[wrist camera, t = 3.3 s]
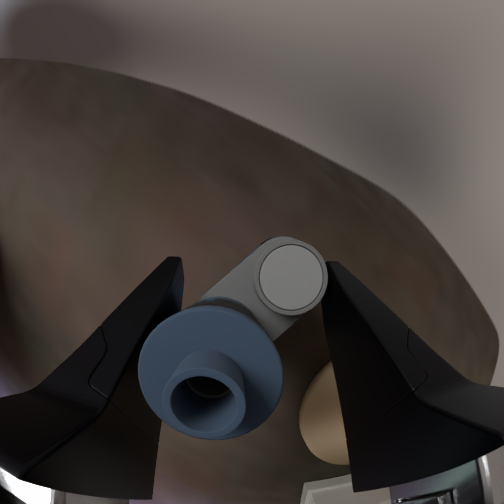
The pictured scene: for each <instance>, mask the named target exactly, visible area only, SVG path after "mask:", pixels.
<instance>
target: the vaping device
mask: <svg viewBox="0 0 504 504" xmlns="http://www.w3.org/2000/svg"><path fill="white" fill-rule="evenodd" d="M327 283H328V273H327V268H326V264H325V262H324V260H323V258H322V256H321V255H320V254H319V252H318V251H317V250H316V249H315V248H313V247H312V246H310V245H309V244H307V243H305V242H302V241H299V240H297V239H295V238H291V237H285V236H277V237H271V238H269V239H267V240H266V241H264V242H263V243H261V244H260V245H259V246H258V247H257V248H256V249H255V250H254V251H253V252H251V253H250V254H249V255H248V256H247V257H246V258H245V259H244V260H243V261H242V262H241V263H240V264H238V265H237V266H236V267H235V268H234V269H233V270H232V271H231V272H230V273H229V274H228V275H227V276H225V277H224V278H223V279H222V280H221V281H220V282H219V283H217V284H216V285H215V286H214V287H213V288H212V289H210V290H209V291H208V292H207V293H206V294H205V295H204V296H202V297H201V298H200V299H199V300H198V301H197V302H195V303H194V304H193V305H192V306H190V307H188V308H186V309H184V310H182V311H181V312H178V313H176V314H174V315H172V316H170V317H168V318H167V319H166V320H164V321H163V322H162V323H160V324H159V325H158V326H157V327H156V328H155V329H154V330H153V331H152V332H151V333H150V335H149V336H148V338H147V339H146V341H145V343H144V345H143V347H142V350H141V353H140V357H139V363H138V378H139V382H140V387H141V390H142V392H143V395H144V397H145V399H146V401H147V403H148V404H149V406H150V407H151V409H152V410H153V411H154V412H155V413H156V415H157V416H158V417H159V418H160V419H161V420H163V421H164V422H165V423H166V424H167V425H169V426H170V427H172V428H174V429H175V430H177V431H179V432H181V433H184V434H186V435H189V436H192V437H196V438H200V439H207V440H223V439H230V438H234V437H238V436H241V435H243V434H246V433H248V432H250V431H252V430H253V429H255V428H257V427H258V426H259V425H261V424H262V423H263V422H264V421H265V420H266V419H267V418H268V417H269V416H270V415H271V413H272V412H273V411H274V409H275V407H276V406H277V404H278V402H279V400H280V397H281V393H282V390H283V382H284V373H283V365H282V362H281V358H280V355H279V353H278V351H277V349H276V347H275V345H274V343H273V341H275V340H276V339H277V338H278V337H279V336H280V335H281V334H283V333H284V332H285V331H286V330H287V329H288V328H289V327H290V326H291V325H293V324H294V323H295V322H296V321H297V320H298V319H299V318H300V317H301V316H302V315H303V314H304V313H306V312H307V311H309V310H311V309H312V308H313V307H315V306H316V305H317V304H318V303H319V301H320V300H321V299H322V297H323V295H324V293H325V291H326V288H327Z"/></svg>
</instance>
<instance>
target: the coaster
mask: <svg viewBox="0 0 504 504" xmlns="http://www.w3.org/2000/svg"><path fill="white" fill-rule="evenodd" d="M299 428H300V432H301V435H302V437H303V439H304V441H305V443H306V445H307V446H308V448H309V450H310V451H311V452H312V453H313V454H314V455H315V456H316V457H318V458H319V459H321V460H323V461H325V462H328V463H332V464H338V465H348V464H349V457H348V450H347V443H346V440H347V439H346V436H345V430H344V424H343V418H342V412H341V407H340V401H339V396H338V391H337V385H336V380H335V375H334V370H333V365H332V361H330V362H329V363H328V364H326V365H325V366H324V367H323V368H322V369H321V370H320V372H319V373H318V374H317V375H316V376H315V378H314V379H313V380H312V382H311V383H310V385H309V387H308V388H307V390H306V392H305V394H304V397H303V399H302V402H301V405H300V411H299Z"/></svg>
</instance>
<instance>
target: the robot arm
mask: <svg viewBox="0 0 504 504" xmlns="http://www.w3.org/2000/svg"><path fill="white" fill-rule="evenodd" d="M325 264H326V268H327V273H328V283H327V288H326V291H325V293H324V295H323V297H322V299H321V305H322V313H323V322H324V328H325V333H326V338H327V342H328V347H329V351H330V356H331V361H332V365H333V370H334V375H335V380H336V385H337V391H338V396H339V401H340V407H341V412H342V418H343V424H344V430H345V436H346V439H347V440H346V443H347V450H348V457H349V464H350V471H351V479H352V487H353V492H354V493H356V492H364V491H370V490H376V489H382V488H387V487H389V490H390V497H391V504H504V387H496V386H489V385H482V384H478V383H474V382H472V381H470V380H468V379H467V378H465V377H464V376H463V375H462V374H460V373H459V372H458V371H457V370H456V369H455V368H454V367H452V366H451V365H450V364H449V363H448V362H447V361H445V360H444V359H443V358H442V357H441V356H440V355H438V354H437V353H436V352H435V351H434V350H433V349H432V348H431V347H429V346H428V345H427V344H426V343H425V342H424V341H423V340H422V339H421V338H420V337H419V336H418V335H417V334H416V333H415V332H414V331H413V330H412V329H411V328H408V326H407V325H406V324H405V323H404V322H403V321H402V320H401V319H400V318H399V317H398V316H397V315H396V314H395V313H394V312H393V311H392V310H391V309H390V308H389V307H388V306H387V305H385V304H384V303H383V302H382V301H381V300H380V299H379V298H378V297H377V296H376V295H375V294H374V293H373V292H371V291H370V290H369V289H368V288H367V287H366V286H365V285H364V284H363V283H362V282H361V281H359V280H358V279H357V278H356V277H355V276H354V275H353V274H352V273H350V272H349V271H348V270H347V269H346V268H345V267H344V266H343V265H341V264H340V263H339V262H337V261H327V262H326V263H325ZM183 287H184V273H183V265H182V259H181V258H180V257H172V256H170V257H167V258H166V259H165V260H164V261H163V262H162V263H161V264H160V265H159V266H158V267H157V268H156V269H155V270H154V271H153V272H152V273H151V274H150V275H149V276H148V277H147V278H146V279H145V280H144V281H143V282H142V283H141V284H140V285H139V286H138V287H137V288H136V289H135V290H134V291H133V292H132V293H131V294H130V295H129V296H128V297H127V298H126V299H125V300H124V301H123V302H122V303H121V304H120V305H119V306H118V307H117V308H116V309H115V310H114V311H113V312H112V313H111V314H110V315H109V316H108V317H107V319H106V320H105V321H104V322H103V323H102V324H101V326H99V327H98V328H97V329H96V330H95V331H94V332H93V333H92V334H91V336H90V337H89V338H88V339H87V340H86V341H85V342H84V343H83V344H82V345H81V346H80V347H79V348H78V349H77V350H76V351H75V352H74V353H73V354H71V355H70V356H69V357H68V358H67V359H66V360H65V361H64V362H63V363H62V364H61V365H60V366H59V367H57V368H56V369H55V370H54V371H53V372H52V373H51V374H50V375H49V376H48V377H47V378H46V379H45V380H44V381H42V382H41V383H40V384H39V385H38V386H36V387H35V388H33V389H31V390H29V391H26V392H23V393H19V394H15V395H10V396H6V397H1V398H0V504H129V499H135V500H152V495H153V485H154V476H155V467H156V459H157V451H158V443H159V436H160V429H161V423H162V420H161V419H160V418H159V417H158V416H157V415H156V413H155V412H154V411H153V410H152V409H151V407H150V406H149V404H148V403H147V401H146V399H145V397H144V395H143V392H142V390H141V387H140V382H139V378H138V363H139V357H140V353H141V350H142V347H143V345H144V343H145V341H146V339H147V338H148V336H149V335H150V333H151V332H152V331H153V330H154V329H155V328H156V327H157V326H158V325H159V324H160V323H162V322H163V321H164V320H166V319H167V318H168V317H170V316H172V315H174V314H176V313H178V312H181V307H182V297H183Z"/></svg>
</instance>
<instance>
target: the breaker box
mask: <svg viewBox="0 0 504 504" xmlns="http://www.w3.org/2000/svg"><path fill="white" fill-rule="evenodd" d="M300 504H391V497H390V490H389V487H387V488H382V489H376V490H370V491H364V492H356V493H354V492H353V487H352V479H351V474H349V475H344V476H340V477H335V478H330V479H324V480H319V481H312V482H306V483H304V486H303V491H302V496H301V501H300Z"/></svg>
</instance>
